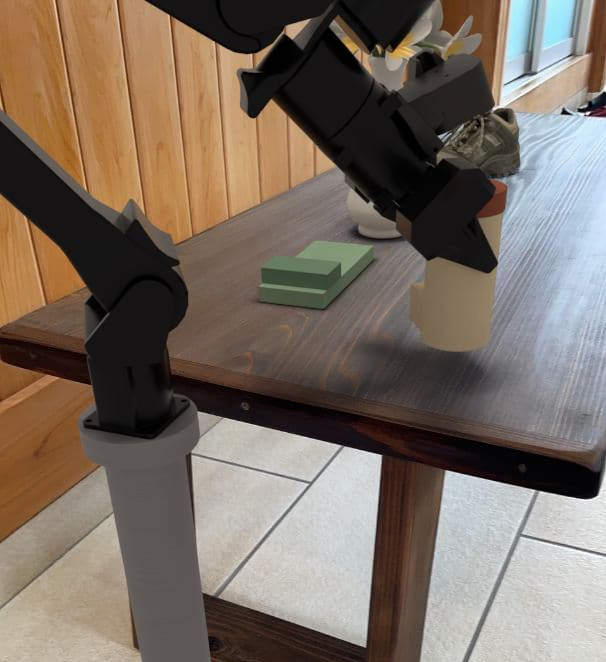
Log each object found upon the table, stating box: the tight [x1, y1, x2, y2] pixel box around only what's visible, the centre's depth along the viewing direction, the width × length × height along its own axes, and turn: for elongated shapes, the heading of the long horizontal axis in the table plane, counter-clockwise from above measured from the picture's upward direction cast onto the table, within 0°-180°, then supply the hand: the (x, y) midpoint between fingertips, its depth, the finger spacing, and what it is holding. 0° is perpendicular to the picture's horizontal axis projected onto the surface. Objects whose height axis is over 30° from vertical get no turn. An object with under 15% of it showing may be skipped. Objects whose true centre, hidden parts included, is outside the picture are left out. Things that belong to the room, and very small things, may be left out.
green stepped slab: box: [258, 239, 375, 310], centre depth 91 cm, size 16×7×3 cm, turn 158°
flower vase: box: [329, 0, 483, 239], centre depth 98 cm, size 13×18×25 cm
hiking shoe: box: [437, 107, 521, 178], centre depth 122 cm, size 9×21×12 cm, turn 133°
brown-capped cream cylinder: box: [408, 178, 508, 353], centre depth 68 cm, size 8×6×12 cm
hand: (478, 256), depth 67 cm, fingers closed on brown-capped cream cylinder, 5 cm apart
